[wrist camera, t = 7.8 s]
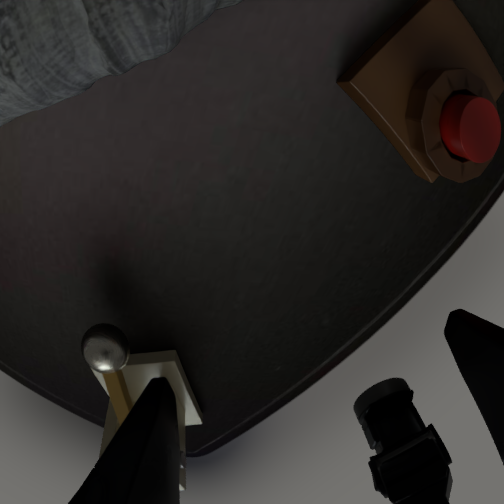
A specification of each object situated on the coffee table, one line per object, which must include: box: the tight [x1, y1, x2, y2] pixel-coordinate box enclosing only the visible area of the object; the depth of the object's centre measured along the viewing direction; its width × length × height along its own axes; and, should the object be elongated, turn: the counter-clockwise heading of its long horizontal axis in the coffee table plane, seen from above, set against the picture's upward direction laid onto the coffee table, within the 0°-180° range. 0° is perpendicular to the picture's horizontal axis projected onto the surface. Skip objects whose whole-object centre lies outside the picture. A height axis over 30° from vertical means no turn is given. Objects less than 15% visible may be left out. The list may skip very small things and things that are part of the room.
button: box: [439, 94, 501, 163], centre depth 13 cm, size 4×4×2 cm
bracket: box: [90, 350, 203, 490], centre depth 20 cm, size 9×7×9 cm
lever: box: [81, 323, 133, 426], centre depth 18 cm, size 12×3×3 cm, turn 6°
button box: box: [336, 0, 504, 183], centre depth 14 cm, size 10×9×4 cm
